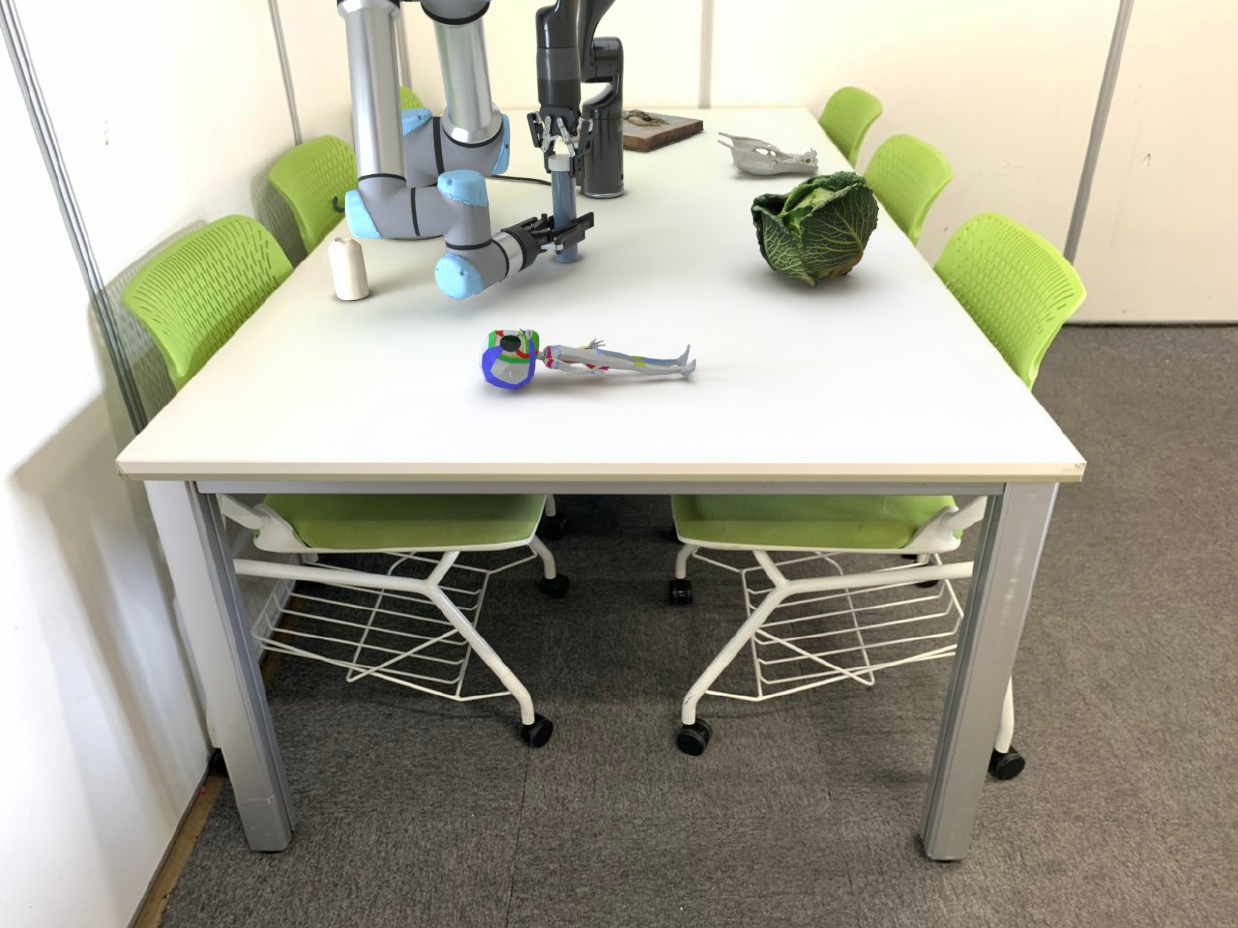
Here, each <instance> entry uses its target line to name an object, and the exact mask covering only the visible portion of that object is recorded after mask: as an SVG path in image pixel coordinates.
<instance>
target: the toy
mask: <svg viewBox="0 0 1238 928" xmlns="http://www.w3.org/2000/svg"><path fill="white" fill-rule="evenodd" d="M601 343H603V344H601ZM605 346H606V343H605V344H604V340H603V339H602V340H599V341H597V338H596V337H595V338H594V339H593V340H591V341H590V342H589V344H588V345H584V346H583V345H582V346H579V347H572V346H567V345H562V344H552V345H551V344H550V345H546V346H545V347H544V348H543V349H542V351H540V335H539V333H538V332H537V331H535V330H533V329H530V328H526V329H525V330H524V329H522V328H519V330H513V329H499V330H497V329H494V330H493V331H491V332H490V333H488V335H487V336H486V338H485V339H484V340H483V343H482V344H481V346H480V351H479V363H478V367H479V369H480V372H481V374H482V378H483V379H484V381H485V382H486V383H488V384H490V385H492V386H493V387H497V388H501V389H504V390H514V391H515V390H516V389H519V388H522V387H525V386H526V385H528V384H529V383H530V382H531V380H532V379H533V378H534V376H535V373H536V367H537V366H536V363H537V360H538V361H542V363H543V364H544V366H545V368H547V369H549V370H559V371H561V372H567V373H569V374H572V375H576V376H588V375H594V376H599V377H604V378H607V379H609V376H611V377H612V376H613V375H612V374H611V373H607V372H610V370H619V371H621V370H622V371H634V372H637V373H642V374H644V375H648V376H667V375H674V374H680V375H681V376H684V377H689V376H690V375H691V374H692V373H693V372H694V371H696V367H697V366H696V365H697V359H696V358H694V359H693V360H692V361H691V362H690V363H688V360H689V359H688V358H689V355H690V350H691V344H690V343H688V344H687V345H686V349H685V351H684V352H683V353H682V354H681V355H680V356H678V357H677V358H671V359H670V358H656V357H655V358H654V357H646V356H639V355H629V354H626V353H623V352H618V351H612V350H606V349H601V348H599V347H605ZM687 363H688V364H687ZM576 364H577V365H578V364H582V365H583V366H586V367H583V366H576Z"/></svg>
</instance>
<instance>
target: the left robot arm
mask: <svg viewBox="0 0 1238 928" xmlns="http://www.w3.org/2000/svg"><path fill="white" fill-rule="evenodd" d="M492 1H493V0H336V10H337V14H338V16H339V17H340V18H341V19H342V20H343V21H344V25H345V27H344V28H345V40H346V50H347V52H346V53H347V64H348V76H349V87H350V88H349V89H350V98H351V99H350V101H351V113H352V114H351V115H352V124H353V137H354V150H355V164H356V175H357V183H358V184H357V188H354V189H351V190H348V191H347V192H346V193H345V197H344V202H345V203H344V207H341V206H339V205H338V204H337V202H338V201H339V200H338V199H339V198H338V196H336V195H334V197H332V198H333V199H332V205H333V208H334V209H335V210H337V211H339V212H344V213H345V218H346V224H347V227H348V230H349V232H350V234H352V236H353V237H355V238H356V239H379V240H383V239H394V240H402V241H411V240H413V241H415V240H426V239H430V238H431V239H432V238H435V237H439V236H443V237H444V243H445V251H446V254H444V255H443V256H442V257H441V258H439V259H438V261H436V265H435V268H434V277H435V282H436V285H437V286H438V288H439V289H440V291H442V293H443V294H444V295H445V296H447V297H448V298H450V299H452V300H458V301H461V300H465V299H467V298H470V297H472V296H476V295H479V294H481V293H482V292H483V291H484V290H486V289H488V288H490V287H492V286H493V285H495V284H497V283H502V282H503V280H505V279H507V278H509V277H511V276H513V275H515V274H517V273H519V272H522V271H523V270H525V269H527V268H529V267H531V266H532V265H533V264H534V263H535V261H536V259H537V258H538V256H539V255H541V254H545V253H547V252H548V251H549V250H551V251H554V253H555V252H556V254H558V255H559V254H562V253H563V252H564V250H566V249H568V248H570V247H572V246H573V245H575V244H577V243H578V244H579V243H580V242H583V241H584V240H586V231H588V230H589V229H592V228H594V227H595V212H594V211H589V212H587V213H585V214H582V215H579V216H577V218H576V219H574V220H572V223H571V224H568V225H565V226H562V227H559V228H556V229H554V220H553V214H552V215H550V216H548V213H545V212H544V213H543V212H542V213H540V218H539V217H538V216H532V217H530V218H527V219H525V220H522V221H521V222H517V223H515V224H514V225H511V226H509V227H504V228H500V229H499V231H497V232H495V233H493V234H492V229H491V217H490V215H491V214H490V202H489V201H490V200H489V197H488V196H489V195H488V189H487V182H486V179H485V177H484V176H491V175H504V174H505V173H506V172H507V171H508V169H509V165H510V157H511V147H510V145H511V125H510V123H511V122H510V117H509V116H508V115H507V114H505V113H503V112H501V110H500V108H499V107H498V105H497V104H496V103H495V102H494V101H493V95H492V86H491V78H490V68H489V67H490V66H489V60H488V51H487V49H488V48H487V41H486V40H487V39H486V31H485V21H484V16H485V15H487V13H488V11H489V10H490V6H491V2H492ZM403 2H405V3H419V4H420V7H421V10H422V12H423V13H424V15H425V16H426V17H427V18H428V19H429V20H431V21H432V25H433V31H434V36H435V43H436V49H437V56H438V61H439V66H440V72H441V78H442V84H443V92H444V96H445V101H446V102H445V103H446V106H445V107H444V109H443V111H442V115H440V116H439V115H438V116H437V115H436V116H433V115H434V114H433V112H432V110H431V108H428V107H413V108H412V107H411V108H407V109H402V100H401V87H400V75H399V62H398V61H399V60H398V49H397V37H396V36H397V35H396V34H397V33H396V22H397V21H399V20H400V18H401V14H402V13H401V3H403Z"/></svg>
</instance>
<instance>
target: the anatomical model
mask: <svg viewBox="0 0 1238 928" xmlns="http://www.w3.org/2000/svg"><path fill="white" fill-rule="evenodd" d="M717 134H718V136H723V137H726V138H728V139H730V140H731V142H732V145H730V144H728V143H726V142H725V141H723V140H720V139H717V140H716V142H717V143H719V144H721V145H723V146H725V147H727V148H729V150H730V153H731V156H732V164H733V165H732V166H734V167H737V170H738V171H740V172H748V173H749V174H751V175H754V176H771V175H777V174H781V173H803V174H809V173H814V172H817V171H819V169H820V167H819V165H818V163H819V158H817V156H818V152H817V150H816V149H813V148H812V146H810V151H806V152H804V153H803V154H800V153H799V154H798V153H788V152H784V151H782V150H780V148H779V147H777V146H776V145H774V144H772V143H769V142H767V141H765V140H761V139H758V138H753V137H749V136H739V135H733V134H729V133H725V132H723V131H718V133H717ZM758 150H765V151H767V153H766V154H764V153H762V152H760V151H758ZM771 152H773V153H774V155H773V154H772V153H771Z"/></svg>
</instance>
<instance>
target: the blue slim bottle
mask: <svg viewBox="0 0 1238 928" xmlns="http://www.w3.org/2000/svg"><path fill="white" fill-rule="evenodd" d="M550 178H551V179H550V180H551V181H550V182H551V183H552V186H551V199H552V200H551V201H552V215H553V220H554V229H556V228H559V227H562V226H565V225H568V224H571V223H572V220H574V219H576V218H578V211H577V210H578V209H577V189H576V188H577V186H576V182H575V178H571V177H570V171H562V172H561V171H552V170H551V174H550ZM554 257H555V261H557V262H559V263H573V262H577V261H578V260H579V243H577V244H575V245H573V246H572V247H570V248H568V249H566V250H564V252H563V253H562V254H559V255H558V254H556V252H555V251H554Z"/></svg>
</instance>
